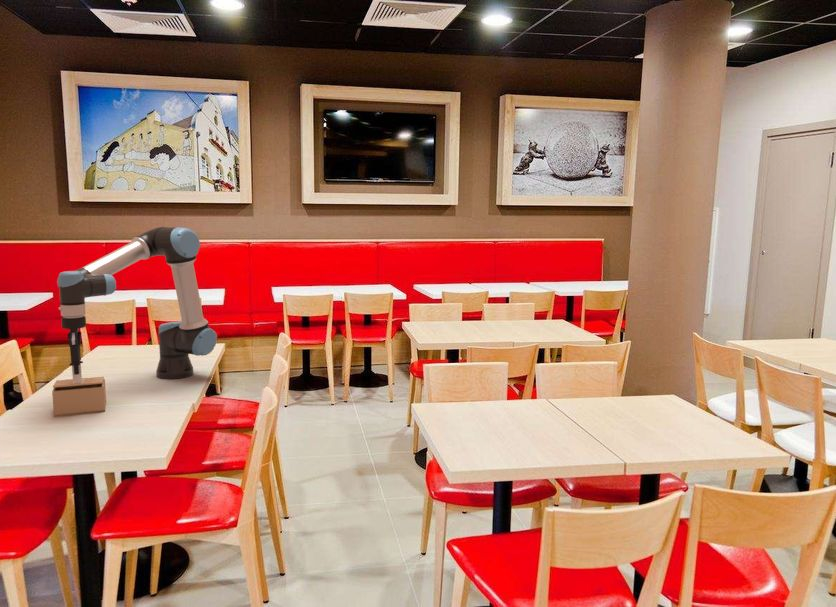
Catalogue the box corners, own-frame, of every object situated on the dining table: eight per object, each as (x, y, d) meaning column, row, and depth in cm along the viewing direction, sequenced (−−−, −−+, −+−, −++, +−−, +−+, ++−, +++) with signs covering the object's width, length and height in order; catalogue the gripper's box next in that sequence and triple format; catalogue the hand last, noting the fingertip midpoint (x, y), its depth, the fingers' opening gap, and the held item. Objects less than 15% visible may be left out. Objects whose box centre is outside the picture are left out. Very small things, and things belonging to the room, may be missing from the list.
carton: (106, 402, 247) (104, 378, 246) (105, 411, 237) (103, 387, 235) (57, 406, 241) (55, 382, 240) (54, 416, 230) (52, 391, 229)
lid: (103, 377, 246) (103, 376, 246) (102, 383, 235) (102, 381, 235) (56, 381, 240) (56, 380, 240) (52, 387, 229) (52, 385, 229)
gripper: (62, 313, 234) (67, 379, 237) (59, 319, 222) (63, 388, 226) (86, 312, 237) (90, 377, 240) (84, 318, 225) (88, 386, 228)
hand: (77, 382), depth 233 cm, fingers closed
